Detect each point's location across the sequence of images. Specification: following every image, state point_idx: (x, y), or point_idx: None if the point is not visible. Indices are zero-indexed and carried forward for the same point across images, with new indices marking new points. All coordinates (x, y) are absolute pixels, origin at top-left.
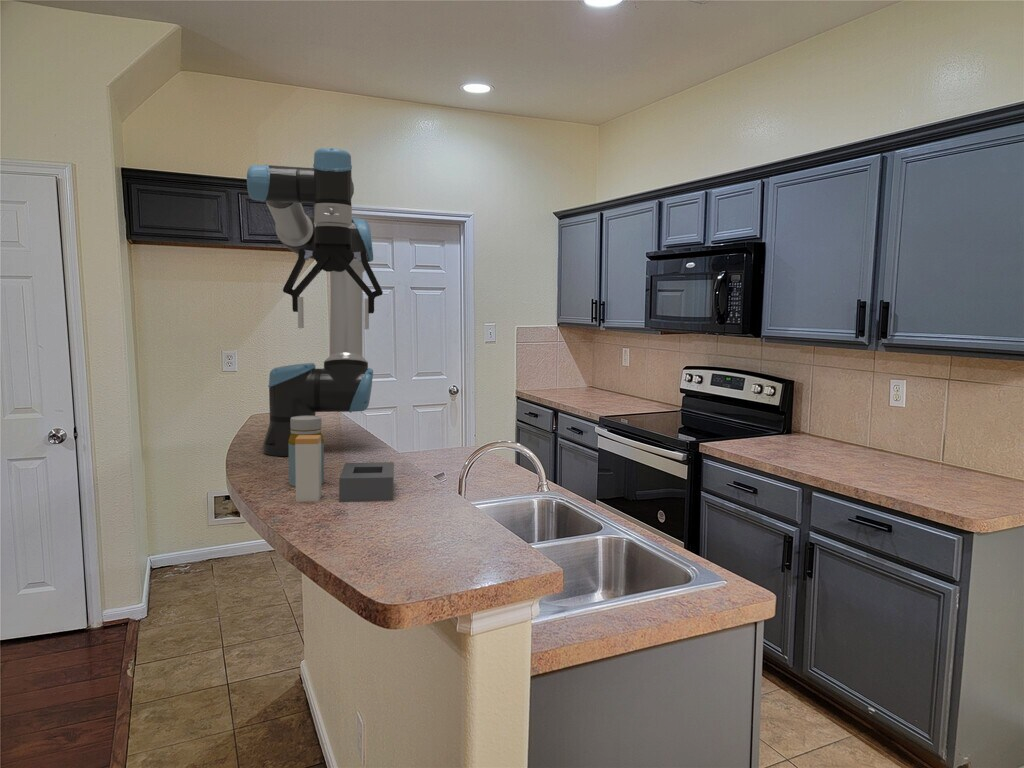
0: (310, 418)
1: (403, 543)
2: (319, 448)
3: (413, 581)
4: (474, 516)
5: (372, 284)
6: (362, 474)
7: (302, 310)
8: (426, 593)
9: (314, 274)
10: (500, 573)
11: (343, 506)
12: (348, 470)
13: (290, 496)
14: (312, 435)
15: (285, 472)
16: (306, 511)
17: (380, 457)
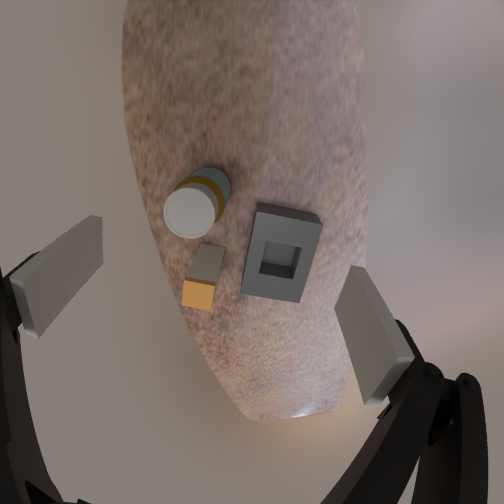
0: (196, 218)
1: (277, 369)
2: (214, 293)
3: (267, 408)
4: None
5: (420, 459)
6: (268, 282)
7: (66, 276)
8: (269, 417)
9: (40, 463)
10: (312, 408)
11: None
12: (255, 258)
13: None
14: (203, 286)
15: (184, 88)
16: None
17: (333, 27)
